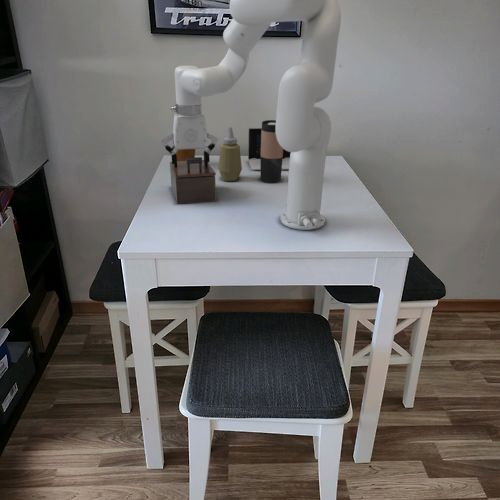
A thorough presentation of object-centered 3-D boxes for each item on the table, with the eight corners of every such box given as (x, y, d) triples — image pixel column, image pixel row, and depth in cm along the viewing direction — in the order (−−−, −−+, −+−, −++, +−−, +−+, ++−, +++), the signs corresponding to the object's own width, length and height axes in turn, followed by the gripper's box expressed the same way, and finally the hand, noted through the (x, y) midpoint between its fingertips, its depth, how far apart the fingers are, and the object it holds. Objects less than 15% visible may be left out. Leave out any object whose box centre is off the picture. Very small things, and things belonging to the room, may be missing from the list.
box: (215, 201, 148) (215, 176, 144) (177, 204, 145) (175, 179, 141) (206, 185, 161) (206, 162, 157) (171, 187, 158) (170, 164, 154)
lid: (215, 175, 143) (215, 158, 141) (175, 178, 140) (175, 160, 138) (206, 162, 157) (205, 146, 155) (170, 164, 154) (169, 148, 152)
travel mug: (281, 176, 170) (284, 120, 161) (281, 183, 163) (284, 125, 154) (260, 175, 171) (262, 119, 161) (258, 182, 164) (260, 124, 155)
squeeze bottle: (244, 181, 165) (245, 129, 157) (222, 183, 162) (222, 131, 154) (236, 174, 171) (237, 124, 163) (215, 176, 169) (214, 125, 160)
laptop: (251, 171, 175) (252, 136, 169) (247, 161, 186) (248, 128, 180) (299, 170, 177) (301, 135, 171) (292, 160, 188) (294, 127, 182)
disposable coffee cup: (168, 164, 180) (166, 133, 175) (189, 160, 186) (188, 129, 180) (181, 171, 174) (180, 138, 168) (203, 166, 179) (202, 134, 174)
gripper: (161, 113, 136) (164, 170, 144) (219, 111, 140) (220, 167, 148) (158, 108, 143) (162, 163, 150) (214, 107, 147) (215, 160, 155)
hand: (190, 165), depth 149 cm, fingers open, 9 cm apart
